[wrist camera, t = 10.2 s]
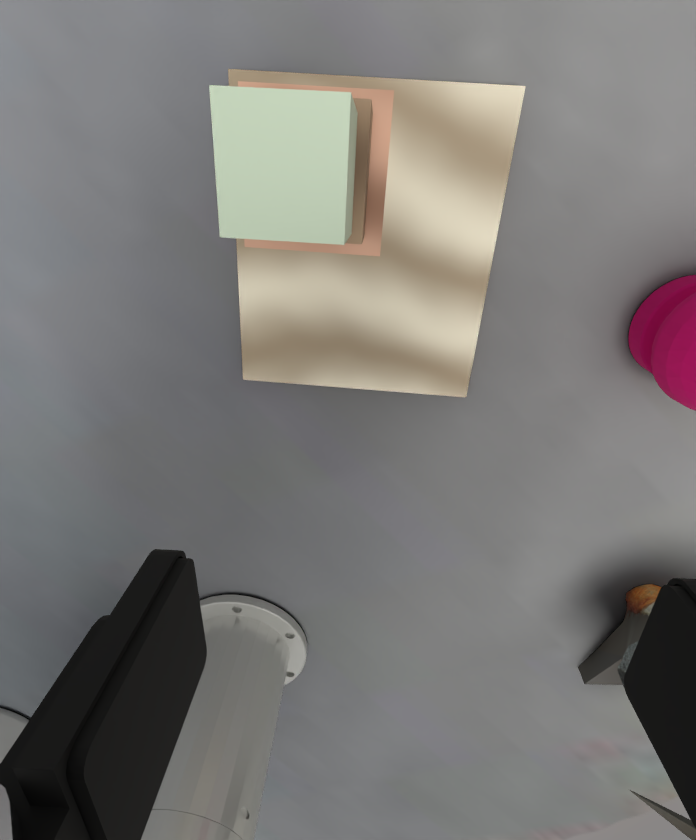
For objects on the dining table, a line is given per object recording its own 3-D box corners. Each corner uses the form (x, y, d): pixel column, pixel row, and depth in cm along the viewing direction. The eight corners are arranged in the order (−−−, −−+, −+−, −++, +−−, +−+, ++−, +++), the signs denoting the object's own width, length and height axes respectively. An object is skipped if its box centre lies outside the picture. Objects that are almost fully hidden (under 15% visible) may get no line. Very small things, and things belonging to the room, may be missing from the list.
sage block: (351, 233, 23) (344, 244, 18) (251, 227, 23) (219, 237, 18) (357, 113, 20) (350, 92, 16) (246, 107, 21) (209, 85, 16)
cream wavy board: (463, 391, 32) (466, 397, 31) (246, 374, 32) (242, 380, 31) (520, 90, 24) (526, 85, 23) (233, 73, 24) (227, 68, 23)
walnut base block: (364, 236, 27) (361, 244, 23) (260, 229, 27) (242, 236, 23) (372, 112, 24) (371, 99, 20) (257, 105, 24) (236, 91, 20)
